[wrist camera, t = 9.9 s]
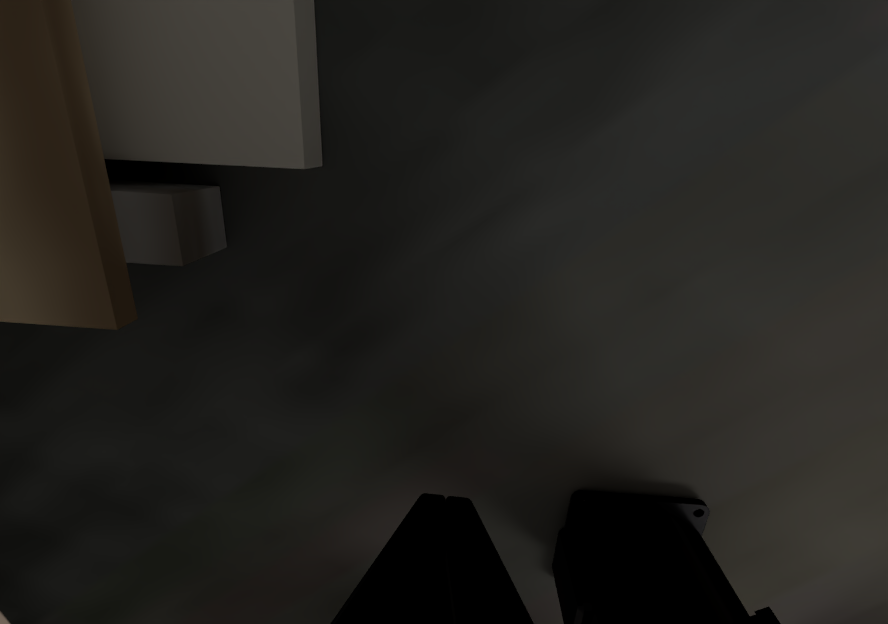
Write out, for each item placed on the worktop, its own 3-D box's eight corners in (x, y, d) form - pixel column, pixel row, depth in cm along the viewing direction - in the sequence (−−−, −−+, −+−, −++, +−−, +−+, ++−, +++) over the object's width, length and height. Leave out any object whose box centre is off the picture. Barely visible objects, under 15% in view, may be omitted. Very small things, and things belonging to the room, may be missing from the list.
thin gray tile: (310, -63, 14) (287, -95, 12) (322, 166, 17) (304, 169, 15) (-170, -82, 14) (-264, -115, 13) (-88, 145, 17) (-156, 145, 15)
